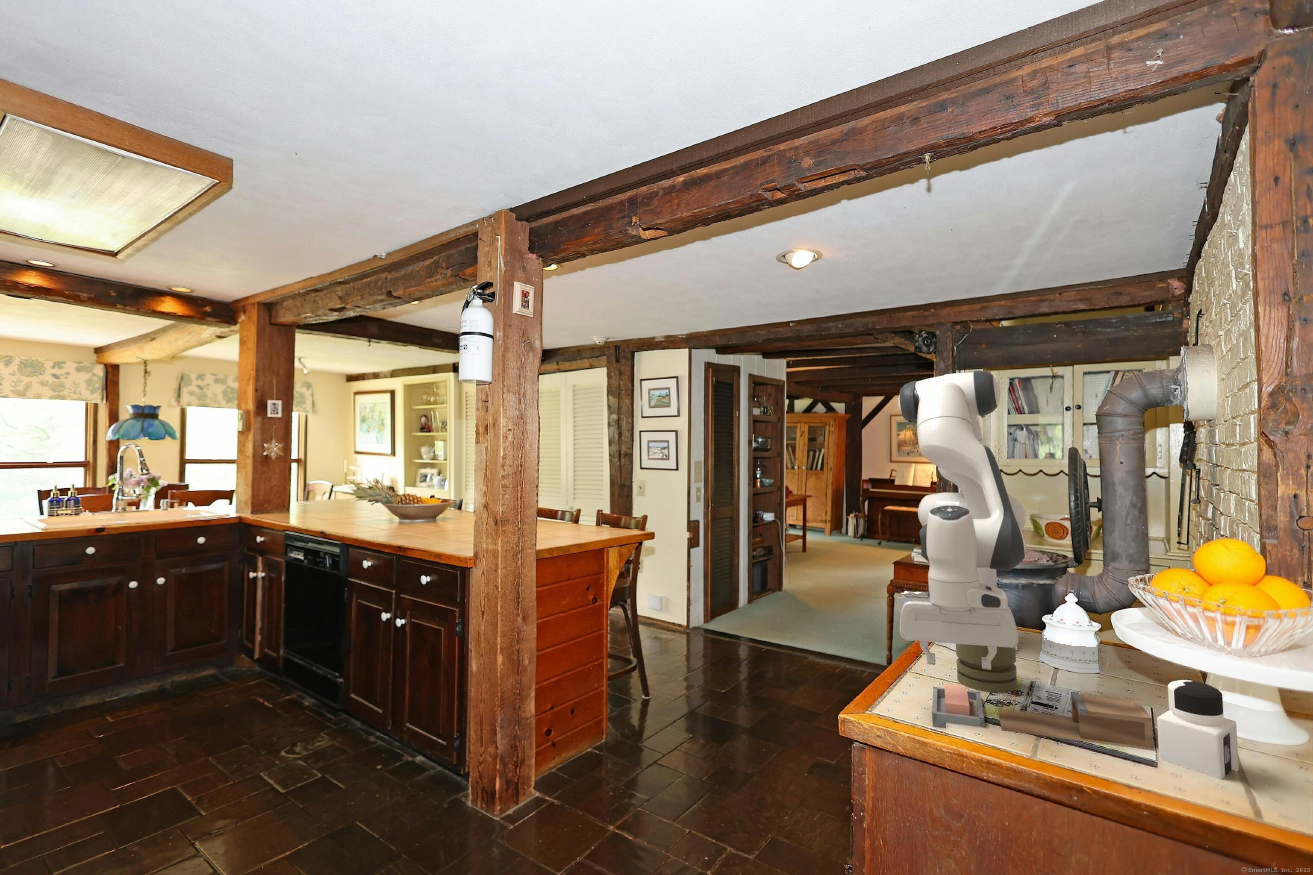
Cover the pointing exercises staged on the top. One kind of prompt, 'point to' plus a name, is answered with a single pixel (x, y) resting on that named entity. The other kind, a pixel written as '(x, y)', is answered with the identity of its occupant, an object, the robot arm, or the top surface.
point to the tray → (942, 717)
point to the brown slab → (1088, 722)
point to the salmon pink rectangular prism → (956, 700)
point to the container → (1197, 730)
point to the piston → (986, 679)
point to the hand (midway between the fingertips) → (958, 665)
